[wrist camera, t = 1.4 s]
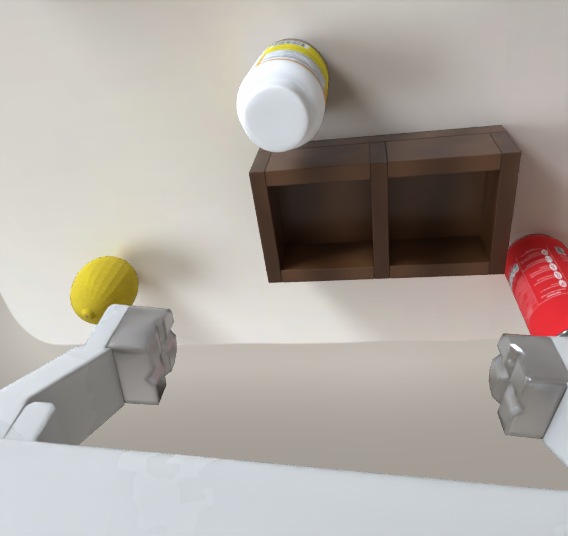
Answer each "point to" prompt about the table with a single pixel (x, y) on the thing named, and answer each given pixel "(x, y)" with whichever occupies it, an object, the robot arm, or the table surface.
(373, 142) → the divided wooden box
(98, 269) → the lemon
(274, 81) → the supplement bottle
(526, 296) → the beverage can
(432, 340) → the table surface
